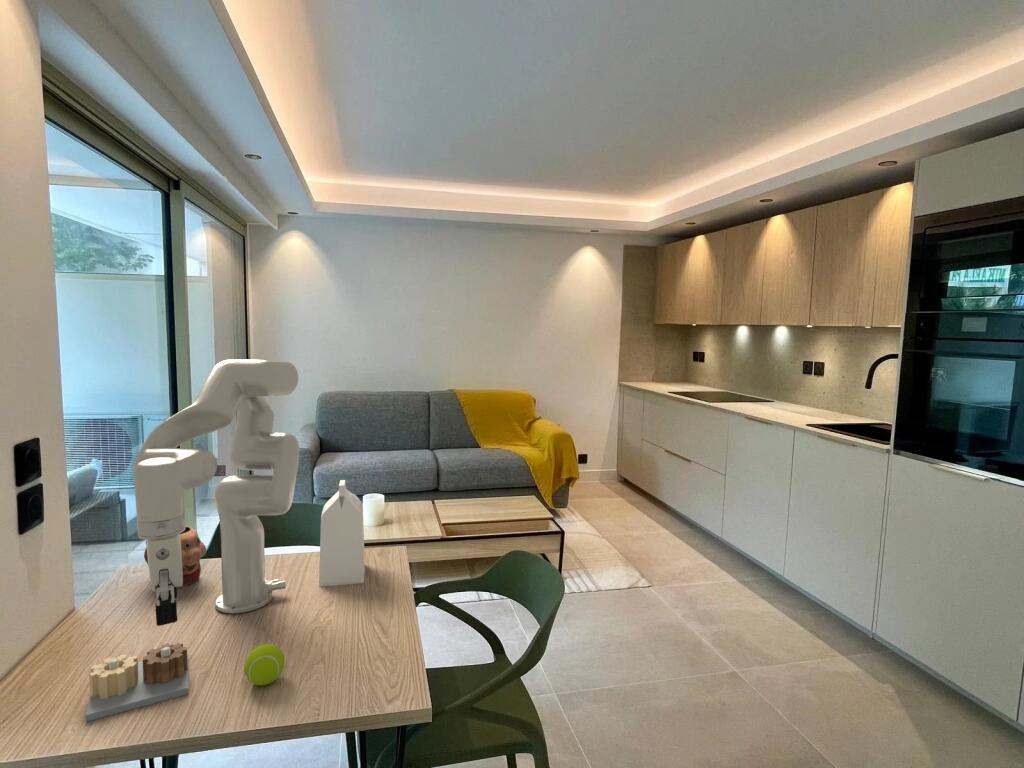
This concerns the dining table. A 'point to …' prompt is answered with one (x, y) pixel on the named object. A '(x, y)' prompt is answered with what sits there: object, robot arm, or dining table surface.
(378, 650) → the dining table surface
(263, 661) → the tennis ball
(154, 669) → the walnut gear
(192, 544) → the decorative planter
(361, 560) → the milk
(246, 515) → the robot arm
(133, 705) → the gear board
